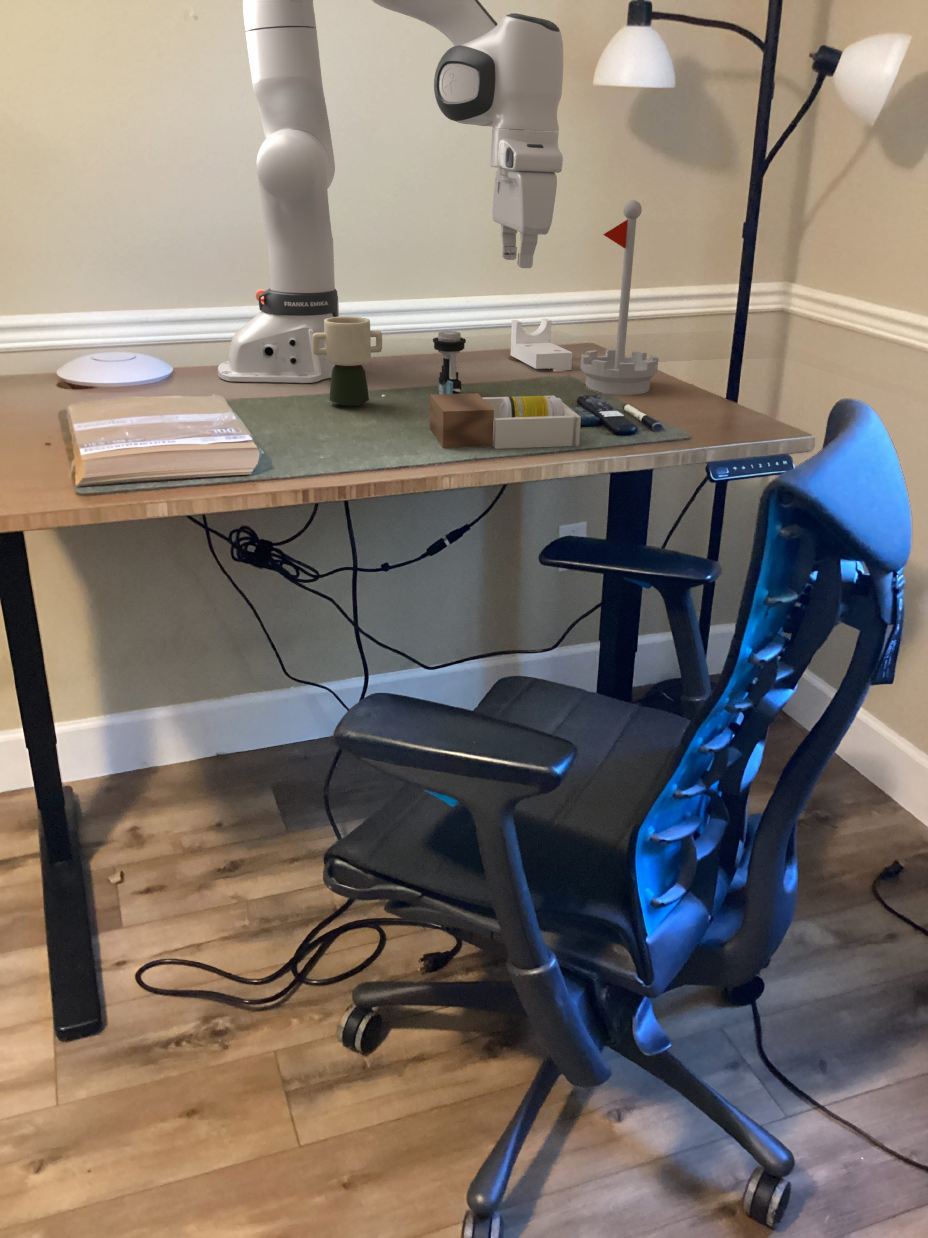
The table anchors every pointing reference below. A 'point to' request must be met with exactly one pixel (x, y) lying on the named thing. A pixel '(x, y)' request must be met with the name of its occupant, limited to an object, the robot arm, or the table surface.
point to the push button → (449, 361)
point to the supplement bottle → (530, 407)
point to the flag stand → (621, 329)
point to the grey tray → (534, 429)
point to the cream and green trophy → (347, 356)
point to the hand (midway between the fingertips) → (516, 263)
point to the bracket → (538, 347)
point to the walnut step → (461, 420)
